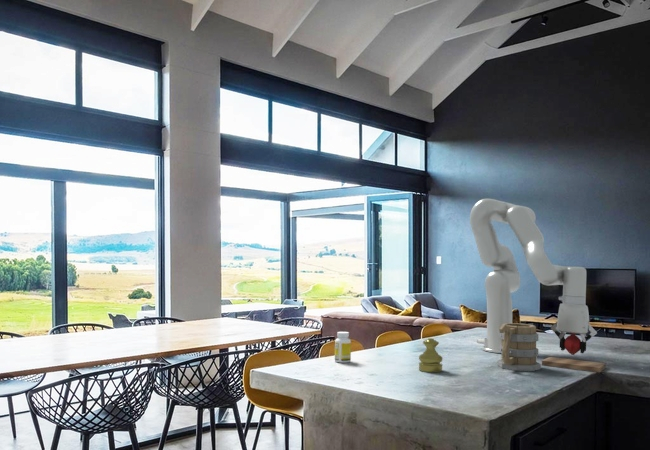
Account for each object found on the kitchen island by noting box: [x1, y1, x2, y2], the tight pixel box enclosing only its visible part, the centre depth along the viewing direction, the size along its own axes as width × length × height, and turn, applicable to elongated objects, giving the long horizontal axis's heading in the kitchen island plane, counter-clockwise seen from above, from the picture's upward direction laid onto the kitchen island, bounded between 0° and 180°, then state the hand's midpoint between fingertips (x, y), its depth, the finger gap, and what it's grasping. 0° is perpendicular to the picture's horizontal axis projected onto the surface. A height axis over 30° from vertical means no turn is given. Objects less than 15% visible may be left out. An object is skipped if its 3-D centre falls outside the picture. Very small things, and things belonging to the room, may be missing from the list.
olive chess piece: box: [418, 337, 443, 374], centre depth 175 cm, size 7×7×10 cm
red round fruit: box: [564, 333, 582, 356], centre depth 198 cm, size 6×6×8 cm
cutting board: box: [541, 356, 607, 373], centre depth 187 cm, size 18×10×2 cm, turn 54°
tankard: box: [496, 322, 542, 372], centre depth 181 cm, size 20×13×15 cm, turn 134°
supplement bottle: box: [334, 331, 352, 364], centre depth 187 cm, size 5×5×10 cm
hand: (572, 350), depth 198 cm, fingers closed on red round fruit, 5 cm apart
